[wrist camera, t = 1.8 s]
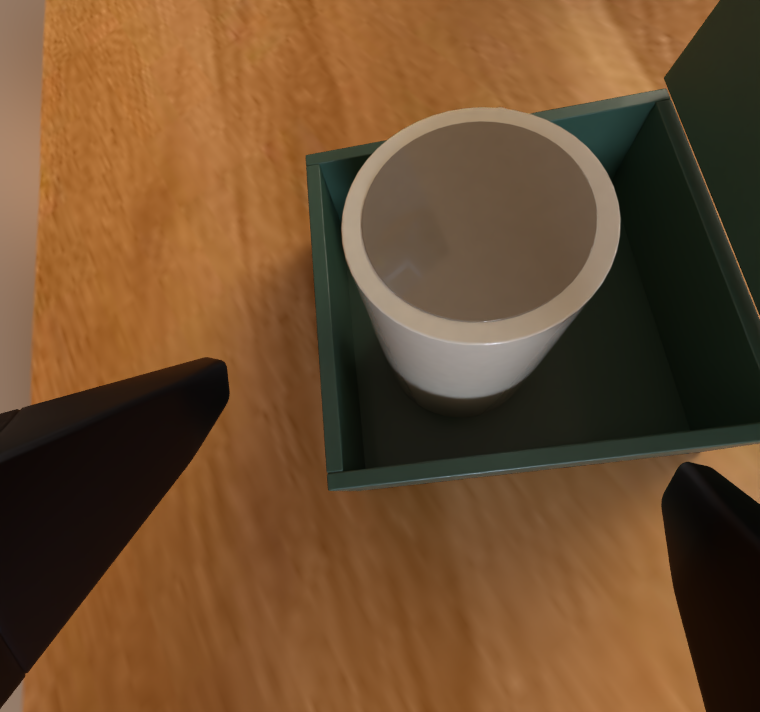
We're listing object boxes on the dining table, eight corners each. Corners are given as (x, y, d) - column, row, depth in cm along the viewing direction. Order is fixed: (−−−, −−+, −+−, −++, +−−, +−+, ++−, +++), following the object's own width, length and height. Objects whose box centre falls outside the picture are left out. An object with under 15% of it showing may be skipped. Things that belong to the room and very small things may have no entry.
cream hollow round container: (520, 432, 19) (606, 371, 9) (371, 399, 21) (308, 315, 11) (549, 247, 22) (642, 43, 12) (414, 228, 23) (395, 29, 13)
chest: (356, 491, 20) (327, 491, 15) (333, 227, 25) (305, 154, 19) (703, 451, 19) (807, 436, 14) (614, 180, 23) (666, 87, 18)
